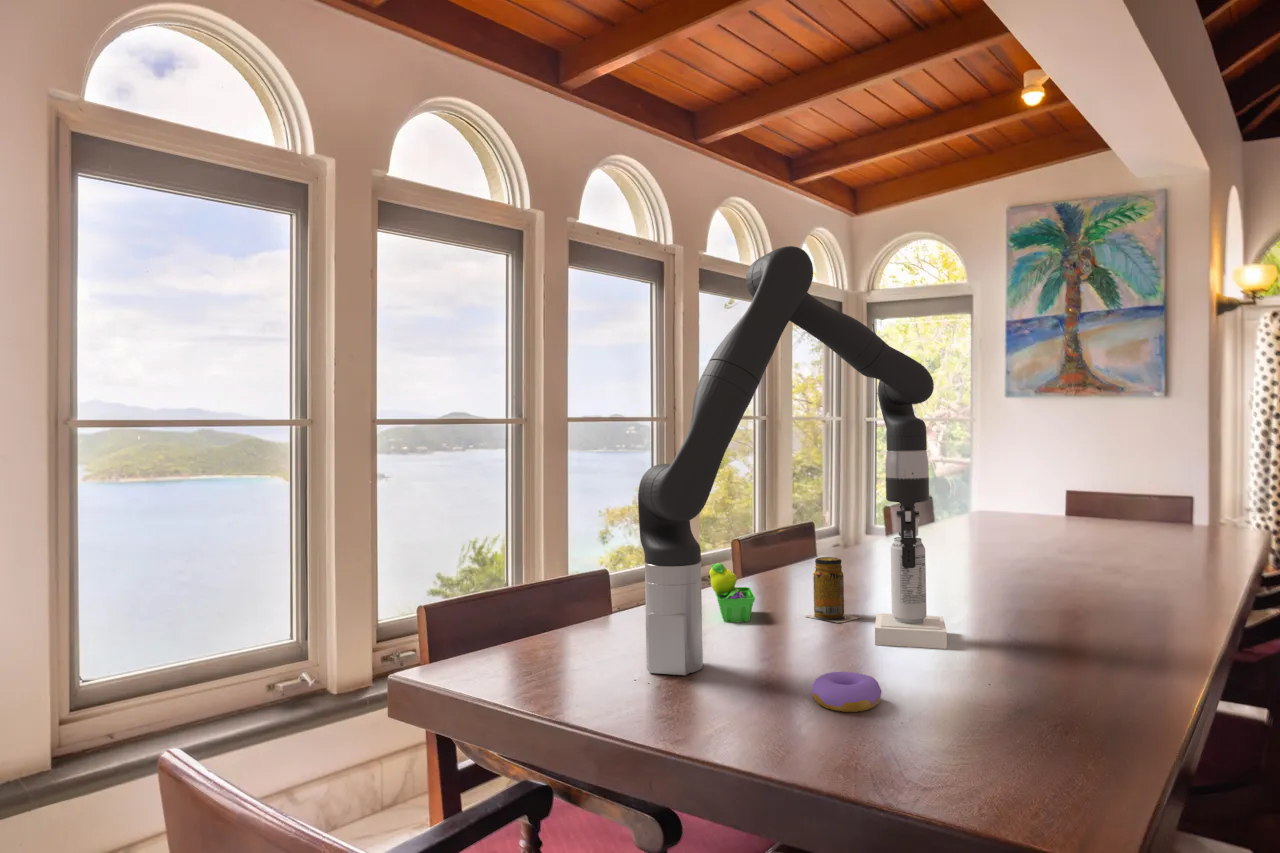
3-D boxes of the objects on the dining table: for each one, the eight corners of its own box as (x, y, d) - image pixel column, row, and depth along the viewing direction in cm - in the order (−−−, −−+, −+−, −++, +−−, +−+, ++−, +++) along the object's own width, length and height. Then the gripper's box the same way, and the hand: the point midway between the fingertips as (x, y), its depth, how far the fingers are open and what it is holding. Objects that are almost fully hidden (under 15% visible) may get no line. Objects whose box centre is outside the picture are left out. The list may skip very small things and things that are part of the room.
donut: (829, 685, 124) (835, 655, 124) (888, 711, 118) (894, 679, 118) (797, 703, 117) (802, 671, 116) (857, 731, 111) (864, 697, 110)
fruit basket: (756, 623, 166) (755, 566, 166) (712, 624, 166) (710, 567, 166) (750, 610, 177) (749, 558, 177) (708, 611, 178) (707, 558, 178)
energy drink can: (919, 616, 155) (917, 536, 155) (931, 624, 149) (930, 540, 149) (887, 617, 155) (885, 536, 155) (898, 625, 149) (896, 541, 149)
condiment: (826, 611, 175) (825, 554, 175) (860, 618, 169) (859, 559, 169) (804, 617, 171) (803, 558, 171) (838, 624, 164) (836, 563, 164)
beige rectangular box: (946, 648, 144) (946, 630, 144) (875, 644, 148) (874, 626, 148) (943, 632, 156) (943, 615, 156) (876, 629, 159) (876, 612, 159)
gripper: (930, 477, 144) (931, 571, 144) (927, 473, 157) (929, 558, 157) (884, 477, 146) (886, 569, 146) (886, 473, 160) (887, 557, 160)
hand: (908, 564), depth 152 cm, fingers open, 8 cm apart
